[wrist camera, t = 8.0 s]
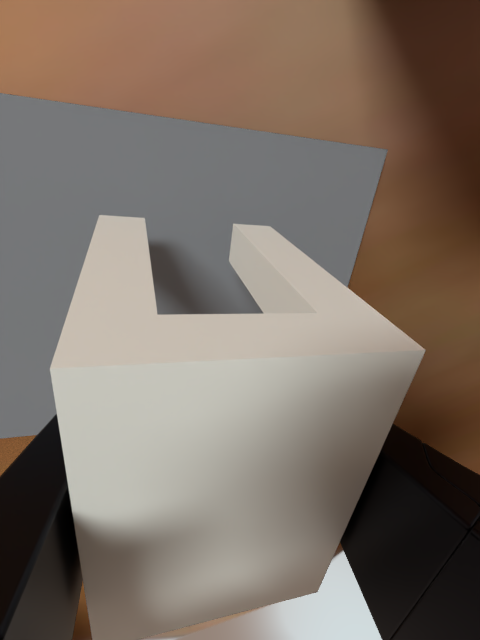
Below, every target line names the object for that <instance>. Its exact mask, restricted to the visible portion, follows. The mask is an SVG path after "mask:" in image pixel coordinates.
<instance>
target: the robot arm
mask: <svg viewBox="0 0 480 640" xmlns="http://www.w3.org/2000/svg"><path fill="white" fill-rule="evenodd" d="M340 543H341V545H342V548H343V550H344V552H345V554H346V557H347V559H348V561H349V564H350V566H351V568H352V571H353V573H354V575H355V578H356V580H357V582H358V584H359V587H360V589H361V591H362V594H363V596H364V598H365V601H366V603H367V605H368V608H369V610H370V612H371V615H372V617H373V619H374V621H375V624H376V626H377V628H378V630H379V633H380V635H381V638H382V639H383V640H480V475H479V474H477V473H475V472H473V471H472V470H470V469H468V468H466V467H464V466H462V465H461V464H459V463H457V462H456V461H454V460H452V459H450V458H449V457H447V456H445V455H444V454H442V453H440V452H439V451H437V450H435V449H434V448H432V447H431V446H429V445H427V444H426V443H422V442H421V440H419V439H417V438H416V437H414V436H412V435H411V434H409V433H408V432H406V431H404V430H403V429H401V428H399V427H398V426H396V425H394V424H392V426H391V429H390V431H389V433H388V435H387V438H386V440H385V442H384V444H383V446H382V449H381V451H380V453H379V455H378V458H377V460H376V462H375V464H374V467H373V469H372V471H371V473H370V475H369V478H368V480H367V482H366V484H365V487H364V489H363V491H362V493H361V496H360V498H359V500H358V502H357V504H356V507H355V509H354V511H353V513H352V516H351V518H350V520H349V522H348V525H347V527H346V529H345V531H344V533H343V536H342V538H341V540H340ZM82 581H83V577H82V571H81V564H80V558H79V552H78V545H77V539H76V533H75V526H74V520H73V513H72V507H71V501H70V494H69V488H68V482H67V475H66V469H65V462H64V456H63V450H62V443H61V437H60V431H59V424H58V418H57V413H56V415H55V416H54V417H53V418H52V419H51V420H50V421H49V422H48V424H47V425H46V426H45V427H44V428H43V429H42V430H41V431H40V432H39V434H38V435H37V436H36V437H35V438H34V439H33V440H32V441H31V443H30V444H29V445H28V446H27V447H26V448H25V449H24V450H23V451H22V453H21V454H20V455H19V456H18V457H17V458H16V459H15V460H14V462H13V463H12V464H11V465H10V466H9V467H8V468H7V469H6V470H5V472H4V473H3V474H2V475H1V476H0V640H72V637H73V631H74V625H75V620H76V614H77V609H78V603H79V598H80V592H81V586H82Z"/></svg>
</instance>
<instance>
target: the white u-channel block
mask: <svg viewBox="0 0 480 640" xmlns="http://www.w3.org/2000/svg"><path fill="white" fill-rule="evenodd" d="M229 262H230V264H231V265H232V267H233V268H234V270H235V271H236V273H237V274H238V276H239V277H240V279H241V280H242V282H243V283H244V285H245V286H246V288H247V289H248V291H249V292H250V294H251V295H252V297H253V298H254V300H255V301H256V303H257V304H258V306H259V307H260V309H261V310H262V312H263V314H169V315H158V314H157V307H156V299H155V292H154V284H153V276H152V269H151V261H150V254H149V246H148V238H147V231H146V223H145V218H138V217H123V216H108V215H99V218H98V221H97V224H96V227H95V230H94V233H93V236H92V239H91V242H90V246H89V249H88V252H87V255H86V258H85V261H84V264H83V267H82V270H81V273H80V277H79V280H78V283H77V286H76V289H75V292H74V295H73V298H72V301H71V304H70V308H69V311H68V314H67V317H66V320H65V323H64V326H63V329H62V332H61V335H60V339H59V342H58V345H57V348H56V351H55V354H54V357H53V360H52V363H51V367H50V373H51V380H52V386H53V392H54V399H55V405H56V411H57V418H58V424H59V431H60V437H61V443H62V450H63V456H64V462H65V469H66V475H67V482H68V488H69V494H70V501H71V507H72V513H73V520H74V526H75V533H76V539H77V545H78V552H79V558H80V564H81V571H82V577H83V584H84V590H85V596H86V603H87V609H88V615H89V622H90V628H91V635H92V640H138V639H142V638H146V637H150V636H154V635H157V634H161V633H165V632H169V631H172V630H176V629H180V628H184V627H187V626H191V625H195V624H199V623H203V622H206V621H210V620H214V619H218V618H221V617H225V616H229V615H233V614H236V613H240V612H244V611H248V610H252V609H255V608H259V607H263V606H267V605H270V604H274V603H278V602H281V601H285V600H289V599H293V598H297V597H301V596H304V595H308V594H311V593H316V592H317V591H318V589H319V587H320V585H321V583H322V580H323V578H324V576H325V574H326V571H327V569H328V567H329V565H330V562H331V560H332V558H333V556H334V554H335V551H336V549H337V547H338V545H339V542H340V540H341V538H342V536H343V533H344V531H345V529H346V527H347V525H348V522H349V520H350V518H351V516H352V513H353V511H354V509H355V507H356V504H357V502H358V500H359V498H360V496H361V493H362V491H363V489H364V487H365V484H366V482H367V480H368V478H369V475H370V473H371V471H372V469H373V467H374V464H375V462H376V460H377V458H378V455H379V453H380V451H381V449H382V446H383V444H384V442H385V440H386V438H387V435H388V433H389V431H390V429H391V426H392V424H393V422H394V420H395V417H396V415H397V413H398V411H399V409H400V406H401V404H402V402H403V400H404V397H405V395H406V393H407V391H408V388H409V386H410V384H411V382H412V379H413V377H414V375H415V373H416V371H417V368H418V366H419V364H420V362H421V359H422V357H423V355H424V353H425V349H424V348H422V347H421V346H420V345H419V344H417V343H416V342H415V341H414V340H412V339H411V338H410V337H409V336H407V335H406V334H405V333H404V332H402V331H401V330H400V329H399V328H397V327H396V326H395V325H394V324H392V323H391V322H390V321H388V320H387V319H386V318H385V317H383V316H382V315H381V314H380V313H378V312H377V311H376V310H375V309H373V308H372V307H371V306H370V305H368V304H367V303H366V302H365V301H363V300H362V299H361V298H360V297H358V296H357V295H356V294H355V293H353V292H352V291H351V290H350V289H348V288H347V287H346V286H345V285H343V284H342V283H341V282H340V281H338V280H337V279H336V278H334V277H333V276H332V275H331V274H329V273H328V272H327V271H326V270H324V269H323V268H322V267H321V266H319V265H318V264H317V263H316V262H314V261H313V260H312V259H311V258H309V257H308V256H307V255H306V254H304V253H303V252H302V251H301V250H299V249H298V248H297V247H296V246H294V245H293V244H292V243H291V242H289V241H288V240H287V239H285V238H284V237H283V236H282V235H280V234H279V233H278V232H277V231H275V230H274V229H273V228H272V227H270V226H260V225H245V224H233V230H232V238H231V247H230V255H229Z"/></svg>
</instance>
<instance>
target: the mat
mask: <svg viewBox="0 0 480 640" xmlns="http://www.w3.org/2000/svg"><path fill="white" fill-rule="evenodd" d="M387 151H388V150H386V149H380V148H373V147H366V146H359V145H352V144H345V143H338V142H332V141H325V140H318V139H311V138H304V137H297V136H290V135H283V134H277V133H270V132H263V131H256V130H249V129H242V128H235V127H229V126H222V125H215V124H208V123H201V122H194V121H187V120H181V119H174V118H167V117H160V116H153V115H146V114H139V113H133V112H126V111H119V110H112V109H105V108H98V107H91V106H85V105H78V104H71V103H64V102H57V101H50V100H43V99H37V98H30V97H23V96H16V95H9V94H2V93H0V438H9V437H20V436H30V435H38V434H39V432H40V431H41V430H42V429H43V428H44V427H45V426H46V425H47V424H48V422H49V421H50V420H51V419H52V418H53V417H54V416H55V415H56V413H57V411H56V405H55V399H54V392H53V386H52V380H51V373H50V367H51V363H52V360H53V357H54V354H55V351H56V348H57V345H58V342H59V339H60V335H61V332H62V329H63V326H64V323H65V320H66V317H67V314H68V311H69V308H70V304H71V301H72V298H73V295H74V292H75V289H76V286H77V283H78V280H79V277H80V273H81V270H82V267H83V264H84V261H85V258H86V255H87V252H88V249H89V246H90V242H91V239H92V236H93V233H94V230H95V227H96V224H97V221H98V218H99V215H108V216H123V217H138V218H145V223H146V231H147V238H148V246H149V254H150V261H151V269H152V276H153V284H154V292H155V299H156V307H157V314H158V315H169V314H263V312H262V310H261V309H260V307H259V306H258V304H257V303H256V301H255V300H254V298H253V297H252V295H251V294H250V292H249V291H248V289H247V288H246V286H245V285H244V283H243V282H242V280H241V279H240V277H239V276H238V274H237V273H236V271H235V270H234V268H233V267H232V265H231V264H230V262H229V255H230V247H231V238H232V230H233V224H245V225H260V226H270V227H272V228H273V229H274V230H275V231H277V232H278V233H279V234H280V235H282V236H283V237H284V238H285V239H287V240H288V241H289V242H291V243H292V244H293V245H294V246H296V247H297V248H298V249H299V250H301V251H302V252H303V253H304V254H306V255H307V256H308V257H309V258H311V259H312V260H313V261H314V262H316V263H317V264H318V265H319V266H321V267H322V268H323V269H324V270H326V271H327V272H328V273H329V274H331V275H332V276H333V277H334V278H336V279H337V280H338V281H340V282H341V283H342V284H343V285H345V286H346V287H348V284H349V280H350V277H351V274H352V270H353V267H354V263H355V260H356V256H357V253H358V250H359V246H360V243H361V239H362V236H363V233H364V229H365V226H366V222H367V219H368V215H369V212H370V209H371V205H372V202H373V198H374V195H375V192H376V188H377V185H378V181H379V178H380V174H381V171H382V168H383V164H384V161H385V157H386V154H387Z"/></svg>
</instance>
